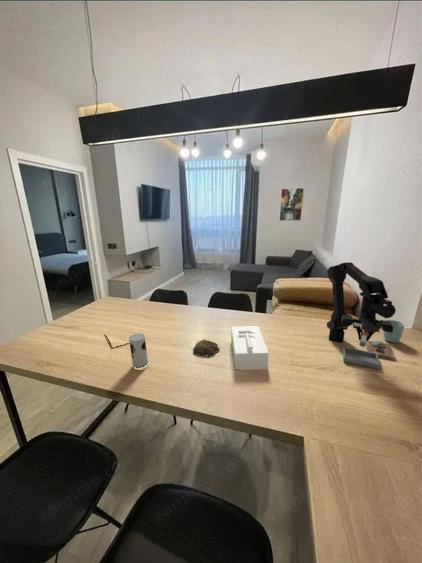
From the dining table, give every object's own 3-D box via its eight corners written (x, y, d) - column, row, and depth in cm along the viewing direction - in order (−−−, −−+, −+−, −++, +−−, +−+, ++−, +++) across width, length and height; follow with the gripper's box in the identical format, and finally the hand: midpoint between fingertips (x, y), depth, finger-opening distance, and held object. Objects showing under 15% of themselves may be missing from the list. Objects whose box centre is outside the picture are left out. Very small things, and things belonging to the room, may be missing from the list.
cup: (403, 345, 121) (407, 327, 118) (386, 343, 123) (389, 326, 120) (395, 337, 128) (399, 320, 126) (379, 336, 130) (382, 319, 127)
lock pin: (358, 346, 108) (360, 331, 106) (358, 342, 110) (360, 328, 108) (366, 347, 106) (369, 332, 104) (366, 344, 109) (368, 329, 107)
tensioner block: (368, 355, 114) (369, 350, 113) (365, 342, 124) (366, 338, 124) (394, 360, 110) (395, 355, 109) (389, 346, 120) (390, 342, 119)
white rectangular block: (258, 340, 130) (258, 322, 127) (267, 369, 106) (268, 348, 103) (231, 341, 131) (231, 322, 128) (235, 370, 107) (235, 348, 104)
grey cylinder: (149, 361, 115) (146, 333, 110) (146, 370, 108) (142, 340, 104) (135, 361, 115) (131, 333, 111) (131, 370, 108) (126, 341, 104)
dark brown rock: (189, 353, 121) (189, 344, 119) (202, 341, 131) (201, 333, 130) (212, 359, 115) (212, 350, 114) (223, 346, 125) (223, 338, 124)
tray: (343, 362, 109) (344, 357, 109) (342, 351, 118) (343, 346, 117) (379, 369, 104) (380, 364, 103) (375, 357, 112) (376, 353, 111)
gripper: (344, 311, 100) (340, 344, 105) (399, 319, 92) (392, 354, 97) (343, 302, 110) (339, 333, 114) (393, 308, 102) (387, 341, 106)
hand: (363, 340), depth 108 cm, fingers closed on lock pin, 2 cm apart
